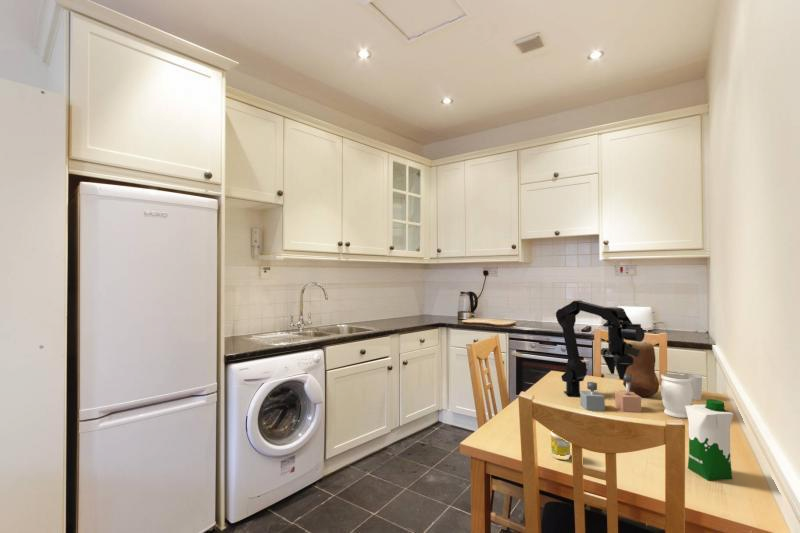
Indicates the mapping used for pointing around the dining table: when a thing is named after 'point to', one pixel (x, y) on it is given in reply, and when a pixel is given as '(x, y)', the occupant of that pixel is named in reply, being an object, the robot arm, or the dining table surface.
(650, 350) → the butternut squash
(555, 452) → the supplement bottle
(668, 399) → the jar
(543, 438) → the dining table surface
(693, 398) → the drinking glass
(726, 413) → the milk carton
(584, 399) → the slate bottle
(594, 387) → the slate pump
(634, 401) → the pink block with hole
